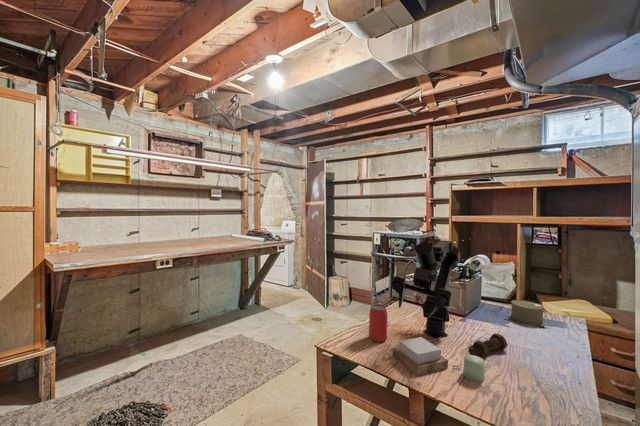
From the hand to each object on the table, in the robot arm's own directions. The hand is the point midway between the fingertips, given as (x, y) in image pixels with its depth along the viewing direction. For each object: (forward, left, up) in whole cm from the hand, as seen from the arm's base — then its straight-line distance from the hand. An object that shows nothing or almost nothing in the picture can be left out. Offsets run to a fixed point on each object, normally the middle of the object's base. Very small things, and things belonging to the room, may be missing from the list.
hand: (413, 311), depth 93 cm
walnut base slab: (-3, 0, -17) cm, 17 cm away
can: (-73, -12, -17) cm, 76 cm away
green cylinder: (-13, +12, -16) cm, 24 cm away
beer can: (+1, -18, -17) cm, 24 cm away
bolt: (-29, +3, -17) cm, 34 cm away
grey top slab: (-3, 0, -14) cm, 14 cm away
